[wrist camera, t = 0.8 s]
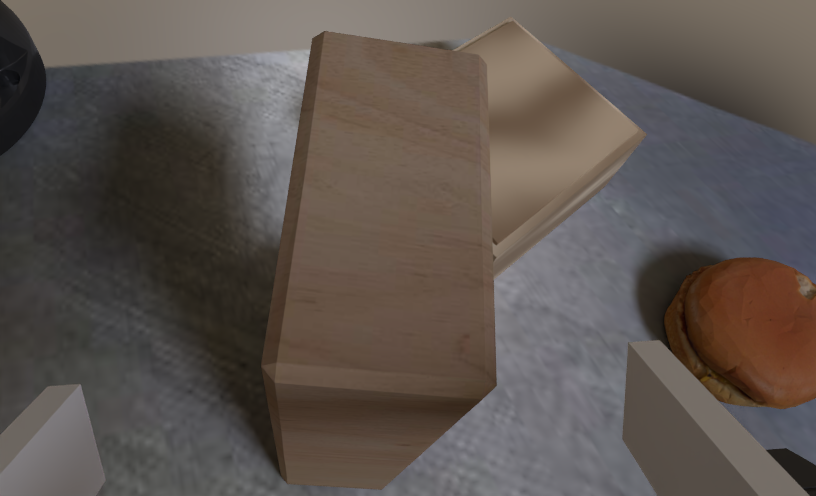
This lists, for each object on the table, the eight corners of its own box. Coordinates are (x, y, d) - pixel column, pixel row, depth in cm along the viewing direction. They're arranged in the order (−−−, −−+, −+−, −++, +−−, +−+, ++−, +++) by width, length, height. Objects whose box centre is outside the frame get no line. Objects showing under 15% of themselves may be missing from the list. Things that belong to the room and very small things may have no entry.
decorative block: (306, 284, 36) (314, 18, 18) (401, 296, 36) (496, 49, 19) (276, 483, 31) (247, 375, 13) (387, 493, 31) (501, 401, 14)
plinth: (343, 169, 40) (350, 106, 35) (486, 79, 46) (512, 13, 40) (468, 301, 37) (498, 254, 32) (604, 187, 43) (649, 131, 37)
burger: (644, 363, 37) (687, 338, 33) (683, 251, 42) (726, 217, 38) (792, 448, 36) (855, 433, 32) (816, 325, 41) (874, 298, 37)
